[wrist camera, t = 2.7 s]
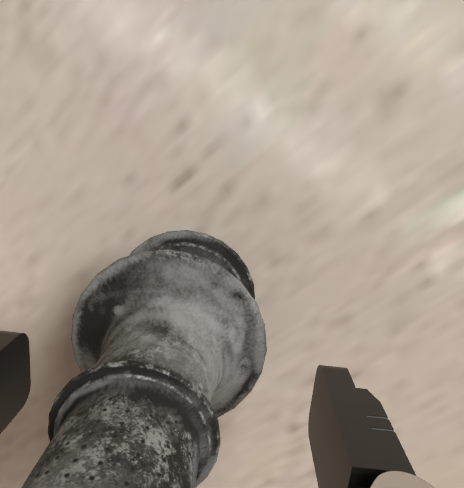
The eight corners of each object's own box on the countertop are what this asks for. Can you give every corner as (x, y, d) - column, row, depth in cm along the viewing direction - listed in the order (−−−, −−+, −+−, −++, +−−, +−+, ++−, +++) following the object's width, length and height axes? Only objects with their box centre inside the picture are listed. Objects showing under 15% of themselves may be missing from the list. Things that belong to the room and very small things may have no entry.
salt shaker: (276, 351, 16) (343, 910, 5) (133, 376, 17) (-122, 929, 5) (245, 207, 15) (230, 503, 3) (89, 240, 15) (-411, 594, 4)
